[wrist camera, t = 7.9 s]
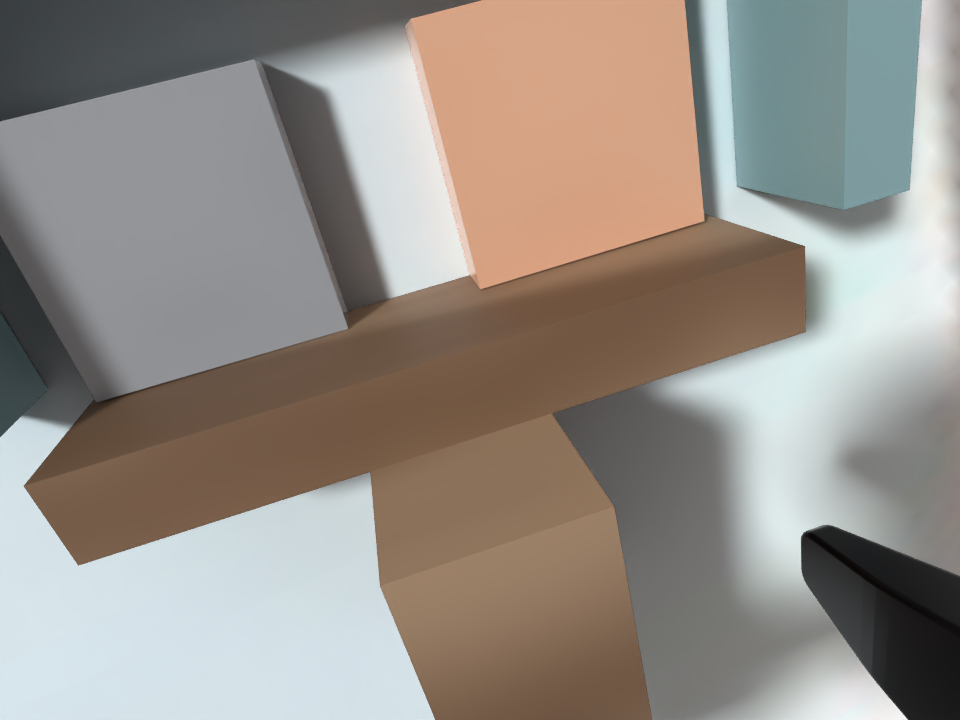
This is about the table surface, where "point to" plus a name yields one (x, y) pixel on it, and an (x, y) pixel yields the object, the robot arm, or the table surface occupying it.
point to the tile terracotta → (559, 127)
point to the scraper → (449, 455)
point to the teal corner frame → (762, 119)
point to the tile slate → (166, 229)
